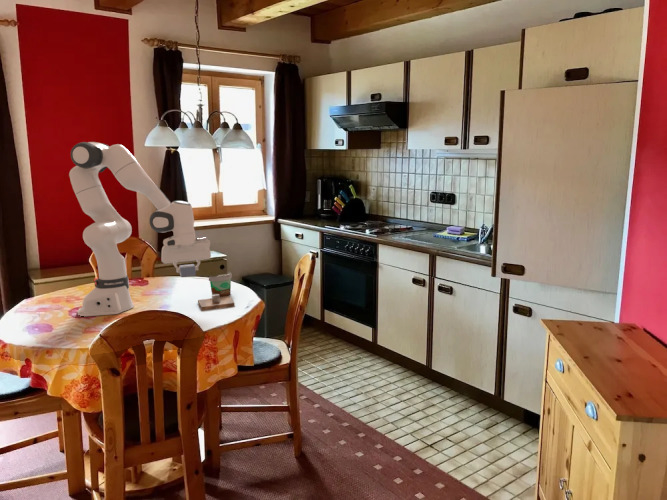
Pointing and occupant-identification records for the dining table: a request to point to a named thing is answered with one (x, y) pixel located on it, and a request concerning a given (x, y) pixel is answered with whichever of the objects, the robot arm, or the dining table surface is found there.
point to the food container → (221, 284)
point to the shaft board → (216, 302)
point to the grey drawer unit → (187, 270)
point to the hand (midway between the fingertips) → (187, 271)
